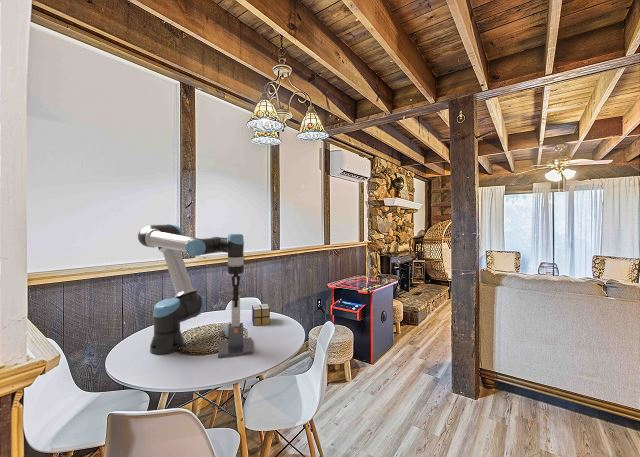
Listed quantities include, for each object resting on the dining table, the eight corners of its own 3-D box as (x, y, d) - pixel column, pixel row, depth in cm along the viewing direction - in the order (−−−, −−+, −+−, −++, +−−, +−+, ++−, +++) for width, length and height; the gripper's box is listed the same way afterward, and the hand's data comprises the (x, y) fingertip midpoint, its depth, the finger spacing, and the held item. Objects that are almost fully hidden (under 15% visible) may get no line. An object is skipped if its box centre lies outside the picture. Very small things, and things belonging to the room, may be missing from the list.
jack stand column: (227, 336, 140) (227, 291, 139) (227, 332, 144) (227, 289, 143) (244, 334, 142) (244, 290, 141) (244, 331, 146) (244, 288, 146)
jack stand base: (218, 358, 134) (217, 333, 133) (219, 343, 149) (219, 321, 149) (253, 353, 138) (253, 330, 138) (251, 340, 154) (251, 318, 153)
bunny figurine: (220, 333, 153) (215, 320, 165) (220, 342, 153) (215, 329, 166) (238, 330, 157) (232, 318, 170) (238, 338, 158) (232, 326, 171)
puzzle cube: (252, 320, 183) (252, 304, 182) (267, 318, 186) (267, 303, 185) (253, 326, 173) (253, 309, 173) (269, 324, 176) (270, 308, 176)
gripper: (244, 267, 135) (244, 316, 136) (243, 262, 151) (243, 305, 152) (227, 268, 133) (227, 318, 134) (228, 262, 149) (228, 307, 150)
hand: (235, 311), depth 143 cm, fingers closed on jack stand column, 4 cm apart
